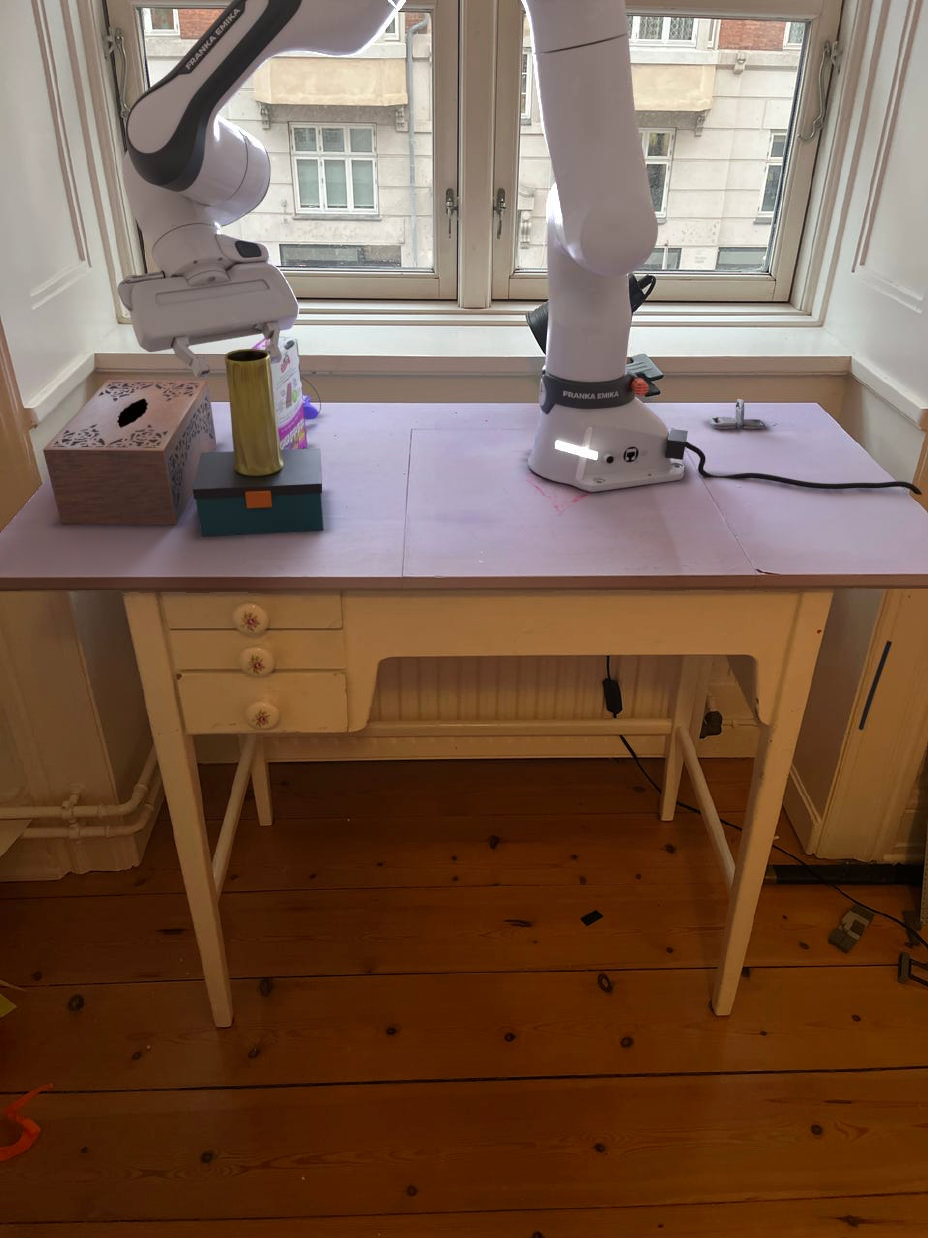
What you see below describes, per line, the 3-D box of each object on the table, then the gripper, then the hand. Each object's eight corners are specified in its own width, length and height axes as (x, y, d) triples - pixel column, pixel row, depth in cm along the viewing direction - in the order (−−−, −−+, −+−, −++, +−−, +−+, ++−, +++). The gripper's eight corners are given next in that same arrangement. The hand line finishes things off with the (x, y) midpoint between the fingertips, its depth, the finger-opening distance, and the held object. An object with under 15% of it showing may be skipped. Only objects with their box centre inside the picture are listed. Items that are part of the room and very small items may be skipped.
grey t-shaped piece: (713, 429, 149) (718, 403, 146) (708, 422, 151) (712, 397, 149) (765, 429, 149) (770, 403, 147) (759, 422, 152) (764, 396, 149)
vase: (293, 467, 117) (283, 355, 109) (253, 481, 113) (240, 366, 106) (264, 453, 121) (252, 344, 113) (224, 467, 117) (209, 354, 109)
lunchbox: (323, 491, 127) (320, 446, 123) (325, 532, 116) (321, 485, 113) (207, 496, 125) (201, 451, 121) (199, 539, 114) (191, 491, 111)
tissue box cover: (119, 445, 139) (106, 380, 133) (216, 446, 139) (207, 380, 134) (61, 523, 117) (42, 449, 112) (176, 524, 118) (163, 450, 112)
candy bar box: (277, 443, 141) (266, 334, 132) (308, 446, 140) (299, 336, 131) (248, 472, 131) (234, 357, 123) (281, 475, 131) (270, 360, 122)
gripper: (114, 261, 105) (160, 369, 104) (277, 242, 116) (321, 340, 114) (108, 293, 111) (152, 396, 109) (265, 273, 121) (306, 366, 120)
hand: (240, 367), depth 112 cm, fingers open, 8 cm apart
